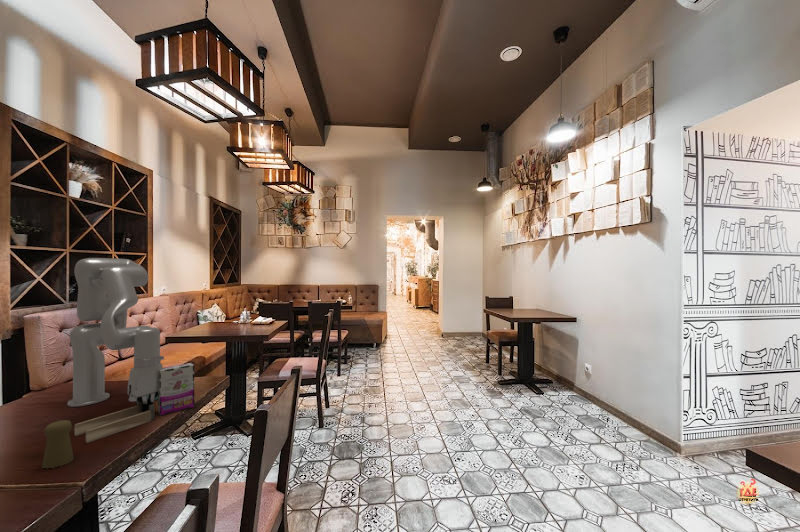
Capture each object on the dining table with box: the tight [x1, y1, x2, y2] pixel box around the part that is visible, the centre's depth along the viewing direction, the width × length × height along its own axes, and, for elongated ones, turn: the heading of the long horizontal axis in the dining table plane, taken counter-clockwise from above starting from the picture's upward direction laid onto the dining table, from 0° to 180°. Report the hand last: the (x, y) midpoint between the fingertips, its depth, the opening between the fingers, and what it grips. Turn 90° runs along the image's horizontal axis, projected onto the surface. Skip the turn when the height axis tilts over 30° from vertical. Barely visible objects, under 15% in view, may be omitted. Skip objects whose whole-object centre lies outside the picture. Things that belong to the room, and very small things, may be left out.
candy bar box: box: [157, 362, 196, 416], centre depth 124 cm, size 11×5×16 cm, turn 134°
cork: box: [41, 419, 74, 470], centre depth 90 cm, size 6×6×11 cm
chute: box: [73, 401, 156, 444], centre depth 110 cm, size 10×18×5 cm, turn 150°
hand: (147, 413), depth 118 cm, fingers closed
